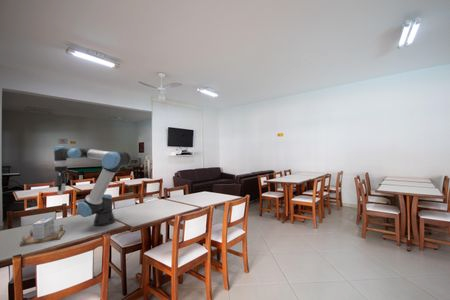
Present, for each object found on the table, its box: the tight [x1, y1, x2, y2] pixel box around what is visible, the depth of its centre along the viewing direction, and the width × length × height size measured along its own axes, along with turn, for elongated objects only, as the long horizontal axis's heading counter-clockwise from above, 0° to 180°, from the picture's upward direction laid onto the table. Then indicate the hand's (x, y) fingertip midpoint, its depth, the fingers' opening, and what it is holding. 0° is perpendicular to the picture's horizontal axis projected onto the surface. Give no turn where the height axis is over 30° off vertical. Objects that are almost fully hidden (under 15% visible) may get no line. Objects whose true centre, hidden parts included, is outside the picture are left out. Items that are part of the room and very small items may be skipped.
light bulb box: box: [32, 217, 55, 240], centre depth 140 cm, size 11×7×11 cm, turn 11°
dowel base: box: [19, 224, 66, 247], centre depth 140 cm, size 20×15×6 cm
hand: (61, 193), depth 160 cm, fingers open, 13 cm apart
